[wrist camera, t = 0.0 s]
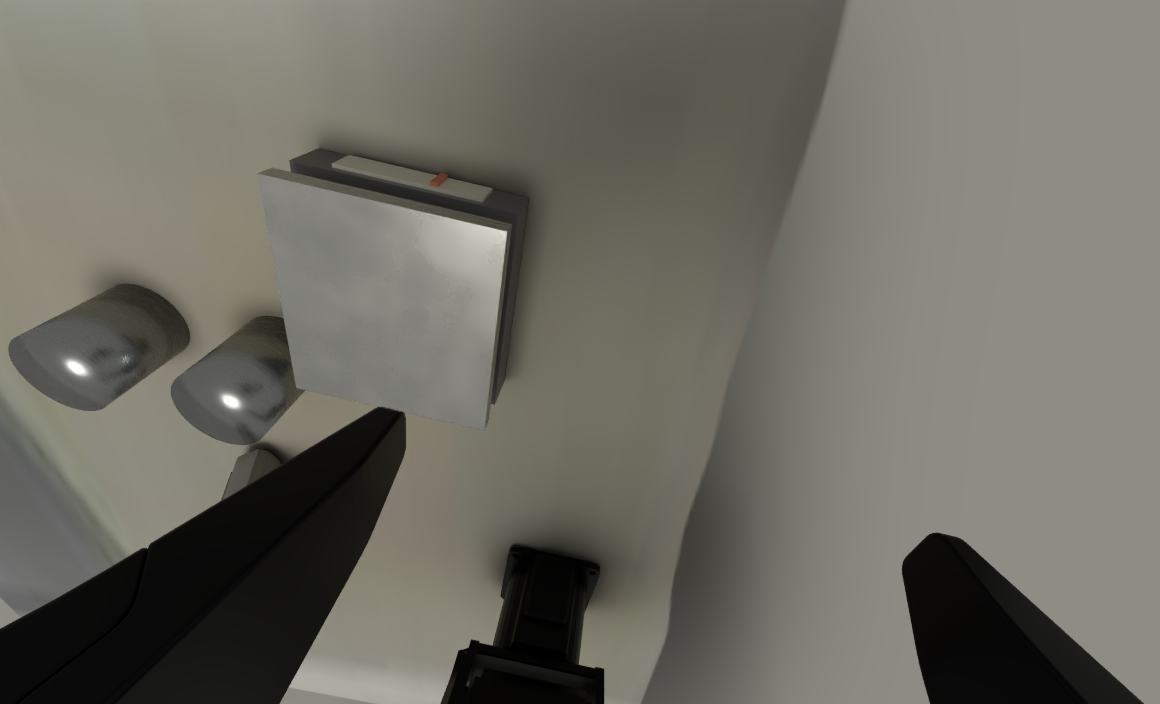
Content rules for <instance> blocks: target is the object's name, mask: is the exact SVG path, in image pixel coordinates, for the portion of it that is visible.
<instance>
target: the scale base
mask: <svg viewBox="0 0 1160 704" xmlns="http://www.w3.org/2000/svg"><path fill="white" fill-rule="evenodd" d="M289 161H290V168H291V172H292V173H297V174H301V175H305V176H309V177H314V178H318V179H322V180H327V181H331V182H335V183H340V184H344V185H348V186H352V187H357V188H361V189H365V190H370V191H374V192H378V193H382V194H387V195H391V196H395V197H400V198H404V199H408V200H413V201H417V202H421V203H425V204H430V205H434V206H438V207H443V208H447V209H451V210H456V211H460V212H464V213H468V214H473V215H477V216H481V217H486V218H490V219H494V220H498V221H503V222H507V223H511V224H512V230H511V238H510V246H509V255H508V263H507V272H506V280H505V288H504V297H503V305H502V314H501V322H500V330H499V339H498V347H497V356H496V364H495V372H494V381H493V389H492V398H491V404H494V405H495V403H496V400H497V398H498V395H499V393H500V390H501V388H502V385H503V383H504V380H505V372H506V365H507V358H508V350H509V343H510V336H511V328H512V321H513V313H514V306H515V299H516V291H517V284H518V277H519V269H520V262H521V254H522V247H523V240H524V232H525V225H526V217H527V210H528V203H529V198H528V197H523V196H519V195H515V194H510V193H506V192H502V191H498V190H493V188H489V187H485V186H481V185H476V184H472V183H468V182H464V181H459V180H455V179H451V178H448V174H444V173H440V174H439V175H434V174H429V173H425V172H421V171H417V170H412V169H408V168H404V167H399V166H395V165H391V164H387V163H382V162H378V161H374V160H369V159H365V158H361V157H357V156H352V155H343V154H339V153H335V152H331V151H326V150H322V149H316V150H313V151H311V152H309V153H306V154H304V155H301V156H299V157H296V158H294V159H292V160H289Z"/></svg>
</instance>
